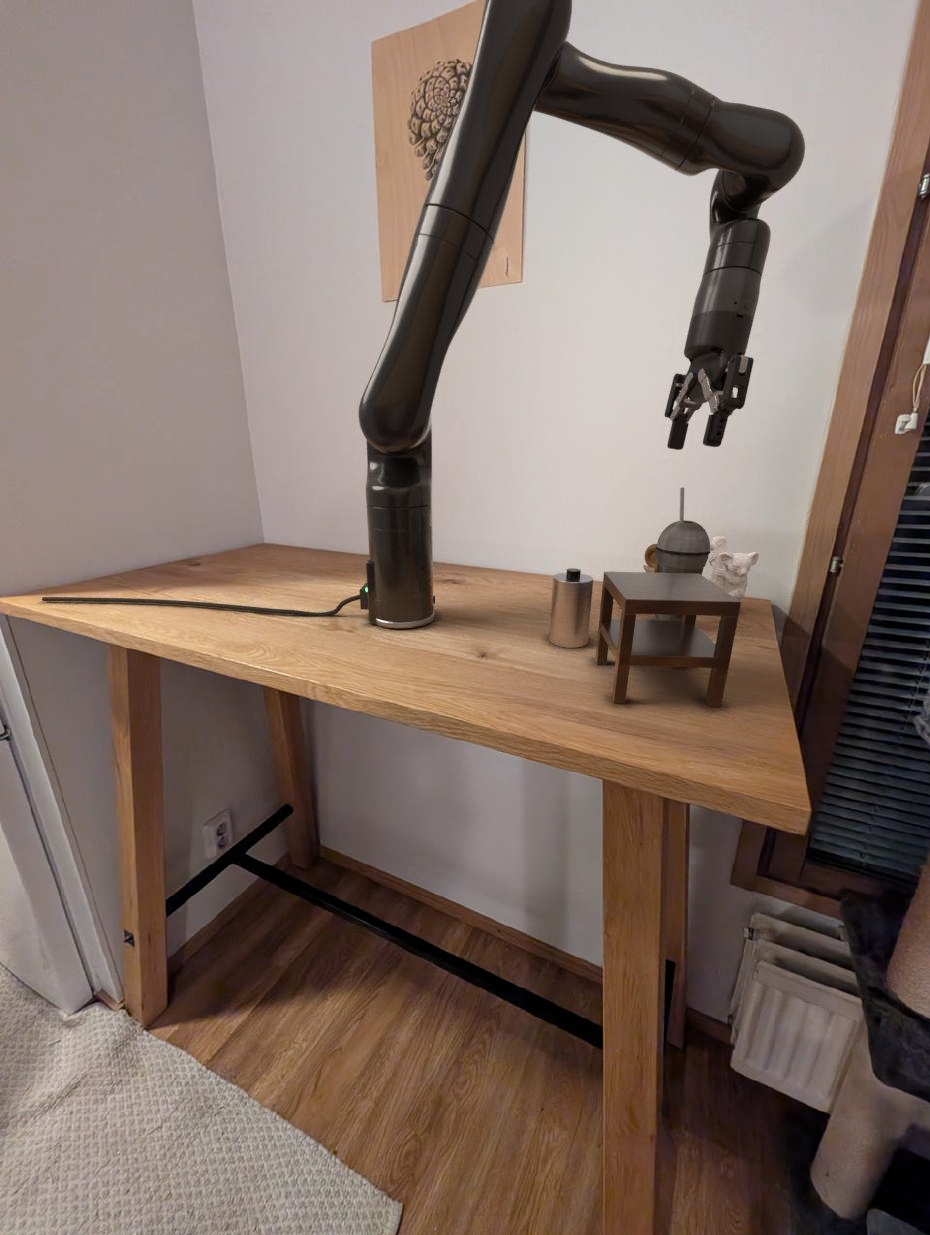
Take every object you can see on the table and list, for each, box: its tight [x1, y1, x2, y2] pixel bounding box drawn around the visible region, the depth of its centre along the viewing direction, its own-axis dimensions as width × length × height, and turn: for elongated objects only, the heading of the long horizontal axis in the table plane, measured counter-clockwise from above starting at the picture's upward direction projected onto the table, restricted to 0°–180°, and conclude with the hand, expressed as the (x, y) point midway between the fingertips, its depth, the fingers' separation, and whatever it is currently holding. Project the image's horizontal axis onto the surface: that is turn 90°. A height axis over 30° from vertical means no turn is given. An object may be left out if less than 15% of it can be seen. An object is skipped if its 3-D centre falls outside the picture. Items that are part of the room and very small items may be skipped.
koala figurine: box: [708, 534, 760, 601], centre depth 81 cm, size 8×7×12 cm
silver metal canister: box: [548, 567, 594, 649], centre depth 69 cm, size 5×5×10 cm
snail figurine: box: [643, 543, 657, 573], centre depth 83 cm, size 5×6×12 cm
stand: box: [594, 571, 742, 708], centre depth 57 cm, size 11×11×12 cm
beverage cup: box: [654, 487, 711, 621], centre depth 73 cm, size 7×7×20 cm
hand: (691, 447), depth 71 cm, fingers open, 8 cm apart
